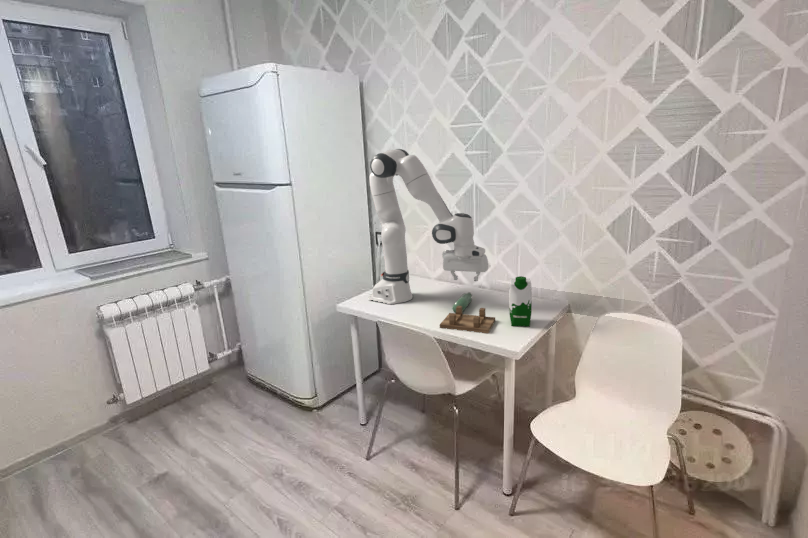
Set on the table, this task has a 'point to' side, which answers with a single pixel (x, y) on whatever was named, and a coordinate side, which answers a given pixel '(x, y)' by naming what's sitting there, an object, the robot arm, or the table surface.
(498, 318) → the table surface
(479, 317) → the cradle
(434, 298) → the table surface
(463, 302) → the bottle
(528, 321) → the milk carton
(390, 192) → the robot arm
